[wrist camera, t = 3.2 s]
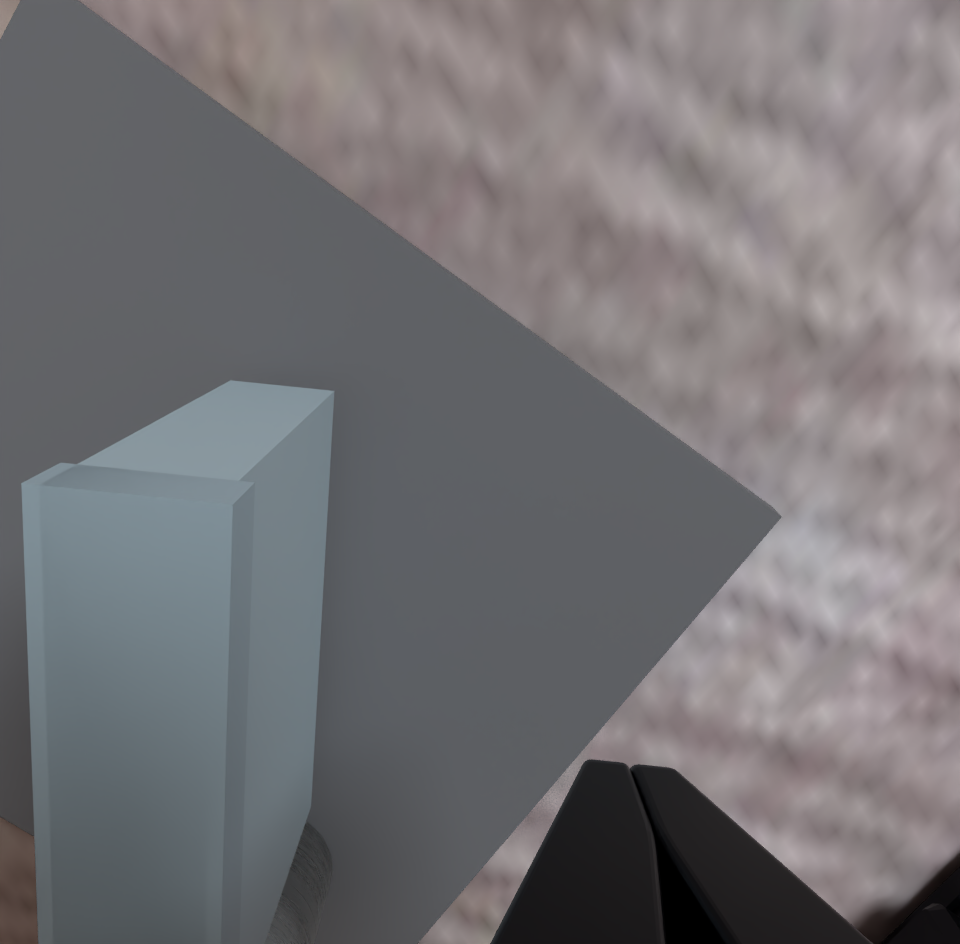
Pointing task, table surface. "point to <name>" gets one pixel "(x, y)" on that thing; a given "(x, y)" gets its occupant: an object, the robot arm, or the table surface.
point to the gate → (177, 668)
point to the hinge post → (303, 892)
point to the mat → (343, 458)
